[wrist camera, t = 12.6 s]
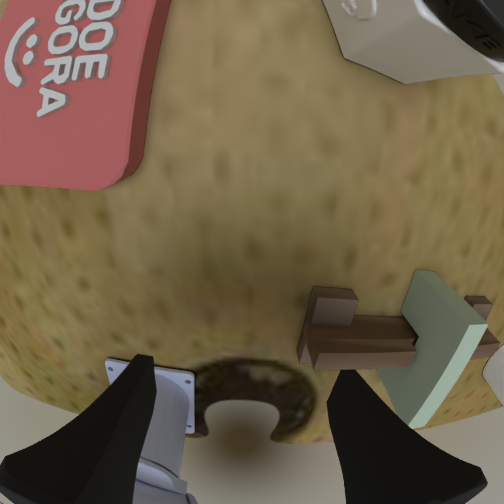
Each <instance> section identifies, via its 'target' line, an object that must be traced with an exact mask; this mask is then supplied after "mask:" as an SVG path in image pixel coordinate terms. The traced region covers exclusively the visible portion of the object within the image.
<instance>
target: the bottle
mask: <svg viewBox="0 0 504 504" xmlns="http://www.w3.org/2000/svg"><path fill="white" fill-rule="evenodd" d="M483 377H484V378H485V380H486V381H487V382H488V384H489V385H490V387H491V388H492V390H493V391H494V393H495V394H496V396H497V397H498V399H499V400H500V401H501V403H502V404H503V405H504V344H503V345H502V346H501V347H500V348H499V349H498V350H497V351H495V353H494V355H493V356H491V357H490V359H489V360H488V362H487V364H486V365H485V368H484V370H483Z"/></svg>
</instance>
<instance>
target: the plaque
mask: <svg viewBox="0 0 504 504" xmlns="http://www.w3.org/2000/svg"><path fill="white" fill-rule="evenodd" d="M170 2H171V0H8V3H7V6H6V9H5V12H4V15H3V17H2V19H1V20H0V184H7V185H24V186H39V187H53V188H66V189H78V190H89V191H96V190H101V189H106V188H108V187H109V186H111V185H113V184H115V183H117V182H119V181H121V180H123V179H125V178H127V177H129V176H131V175H132V174H133V173H134V172H135V171H136V169H137V168H138V167H139V165H140V163H141V161H142V158H143V153H144V143H145V134H146V126H147V119H148V111H149V105H150V98H151V92H152V86H153V80H154V74H155V69H156V63H157V58H158V53H159V48H160V44H161V39H162V35H163V30H164V26H165V22H166V18H167V14H168V10H169V6H170Z"/></svg>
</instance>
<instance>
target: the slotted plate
mask: <svg viewBox="0 0 504 504" xmlns="http://www.w3.org/2000/svg"><path fill="white" fill-rule="evenodd" d="M401 312H402V314H403V315H404V316H405V318H406V319H407V321H408V322H409V323H410V325H411V326H412V327H413V329H414V330H415V332H416V333H417V334H418V336H419V338H418V340H417V342H416V344H415V346H414V348H415V349H416V351H417V352H416V354H415V356H414V358H413V359H412V361H411V363H410V365H409V367H399V368H383V369H377V371H378V373H379V375H380V378H381V380H382V382H383V384H384V386H385V388H386V390H387V393H388V395H389V397H390V399H391V401H392V403H393V406H394V408H395V410H396V412H397V415H398V417H399V418H400V419H401V420H402V421H403V422H405V423H406V424H407V425H408V426H409V427H410V428H412V429H414V428H418V427H423V426H425V425H426V423H427V422H428V421H429V419H430V418H431V417H432V415H433V414H434V413H435V411H436V410H437V409H438V407H439V406H440V404H441V403H442V402H443V400H444V399H445V397H446V396H447V394H448V393H449V391H450V390H451V388H452V387H453V385H454V384H455V382H456V381H457V379H458V378H459V376H460V374H461V373H462V371H463V369H464V368H465V366H466V365H467V363H468V361H469V359H470V358H471V356H472V354H473V352H474V351H475V349H476V347H477V345H478V343H479V342H480V340H481V338H482V336H483V334H484V332H485V330H486V328H487V326H488V323H487V322H486V321H485V320H484V319H483V318H482V317H481V316H480V315H479V314H478V313H477V312H476V311H475V310H474V309H473V308H472V307H471V306H470V305H469V304H468V303H467V302H466V301H465V300H464V299H463V298H462V297H461V296H460V295H459V294H458V293H457V292H456V291H455V290H454V289H453V288H452V287H451V286H450V285H448V284H447V283H446V282H445V281H444V280H443V279H442V278H441V277H440V276H439V275H438V274H437V273H435V272H433V271H423V270H415V273H414V276H413V279H412V282H411V285H410V287H409V290H408V293H407V296H406V298H405V301H404V304H403V306H402V309H401Z"/></svg>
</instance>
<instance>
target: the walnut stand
mask: <svg viewBox="0 0 504 504" xmlns="http://www.w3.org/2000/svg"><path fill="white" fill-rule="evenodd" d="M464 300H465V301H466V302H467V303H468V304H469V305H470V306H471V307H472V308H473V309H474V310H475V311H476V312H477V313H478V314H479V315H480V316H481V317H482V318H483V319H484V320H485V321H486V319H487V317H488V315H489V313H490V311H491V308H492V306H493V304H492V303H491V302H490V301H489V300H488V299H487V298H486V297H482V296H465V298H464ZM358 301H359V300H358V298H357V296H356V295H355V293H354V292H353V290H352V289H340V288H327V287H315V286H313V290H312V294H311V298H310V302H309V306H308V310H307V314H306V318H305V322H304V326H303V329H302V333H301V337H300V340H299V344H298V348H297V356H298V360H299V364H312V366H313V369H314V370H350V369H355V370H360V369H383V368H399V367H409V365H410V363H411V361H412V359H413V358H414V356H415V354H416V352H417V351H416V349H415V348H414V346H415V344H416V342H417V340H418V338H419V336H418V334H417V333H416V332H415V330H414V329H413V327H412V326H411V325H410V323H409V322H408V321H407V319H406V318H405V317H389V316H357V315H354V313H355V310H356V307H357V304H358ZM499 344H500V342H499V341H498V340H497V339H496V338H495V337H494V335H493V334H492V333H491V332H490V331H489V330H488V329H487V328H486V330H485V332H484V334H483V336H482V338H481V340H480V342H479V343H478V345H477V347H476V349H475V351H474V352H473V354H472V356H471V358H470V359H469V360H472V359H478V358H485V357H490V356H493V355H494V353H495V351H496V350H497V348H498V346H499Z"/></svg>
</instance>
